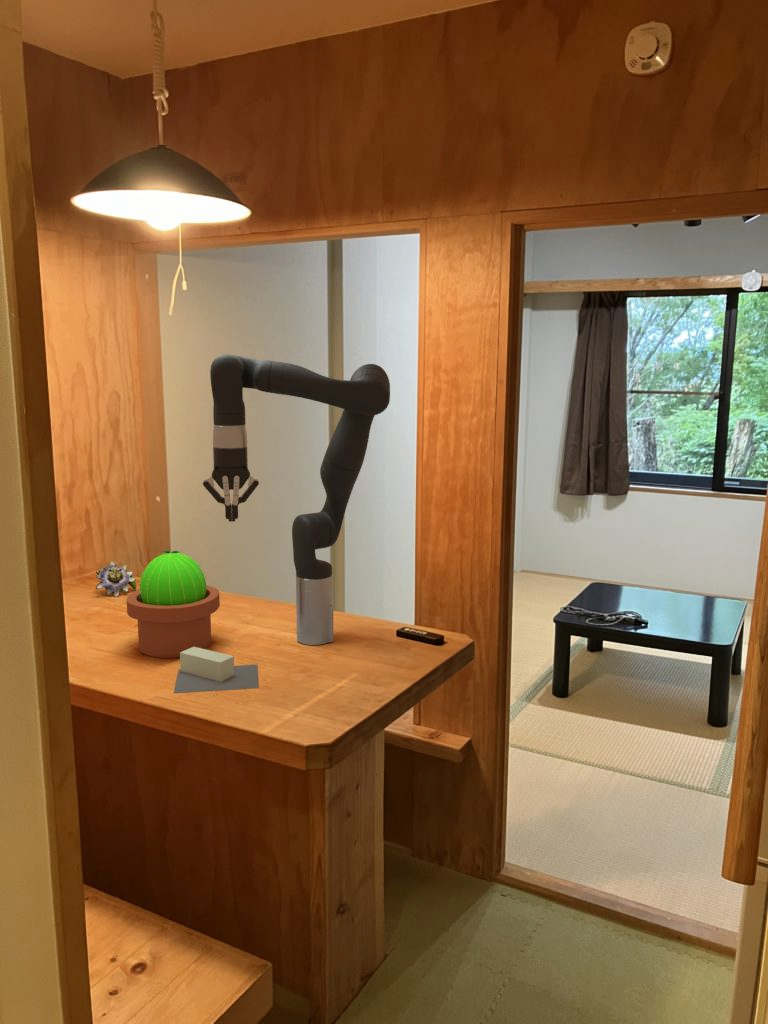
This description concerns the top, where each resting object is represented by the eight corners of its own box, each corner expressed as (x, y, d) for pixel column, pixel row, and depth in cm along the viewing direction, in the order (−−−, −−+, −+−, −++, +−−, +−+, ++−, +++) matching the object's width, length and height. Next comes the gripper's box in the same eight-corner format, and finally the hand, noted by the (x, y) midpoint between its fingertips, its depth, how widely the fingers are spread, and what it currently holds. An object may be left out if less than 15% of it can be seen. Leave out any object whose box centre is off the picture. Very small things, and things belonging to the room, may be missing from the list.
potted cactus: (197, 666, 188) (194, 563, 183) (112, 658, 192) (107, 557, 188) (233, 635, 209) (230, 542, 204) (156, 629, 213) (152, 538, 209)
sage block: (233, 656, 179) (193, 646, 185) (220, 662, 175) (179, 652, 181) (234, 675, 180) (194, 665, 186) (220, 681, 176) (180, 671, 182)
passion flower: (117, 613, 244) (94, 587, 237) (105, 598, 252) (83, 573, 245) (147, 589, 248) (125, 563, 241) (134, 575, 256) (113, 550, 249)
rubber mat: (257, 668, 187) (257, 664, 186) (259, 692, 173) (258, 687, 173) (178, 673, 183) (178, 668, 183) (173, 697, 170) (173, 693, 170)
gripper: (199, 447, 173) (201, 525, 177) (260, 446, 176) (261, 523, 179) (200, 443, 181) (203, 518, 184) (259, 443, 183) (261, 517, 186)
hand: (232, 520), depth 181 cm, fingers closed
